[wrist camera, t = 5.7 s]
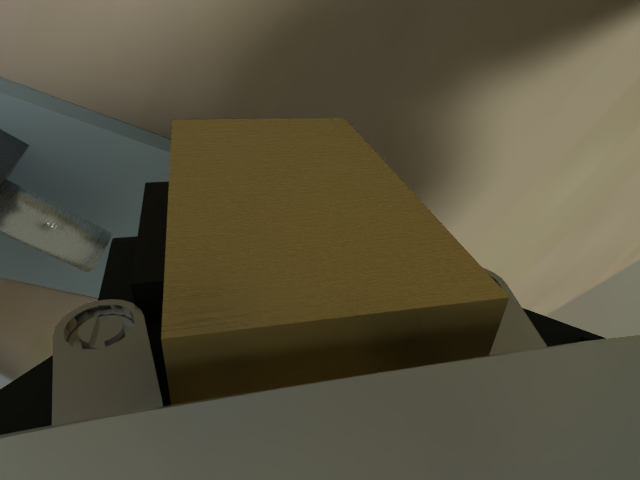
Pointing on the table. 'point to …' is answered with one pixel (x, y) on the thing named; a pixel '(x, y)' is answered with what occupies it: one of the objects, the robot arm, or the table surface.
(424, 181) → the table surface
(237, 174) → the olive yellow block
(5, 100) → the board
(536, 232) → the table surface
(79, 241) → the shaft
